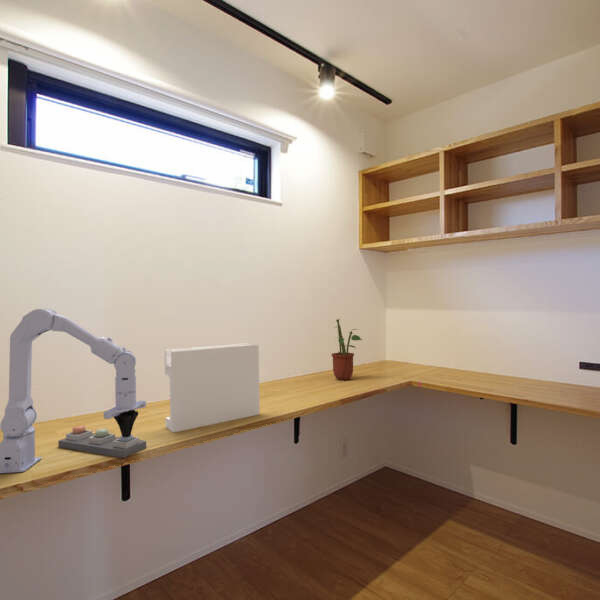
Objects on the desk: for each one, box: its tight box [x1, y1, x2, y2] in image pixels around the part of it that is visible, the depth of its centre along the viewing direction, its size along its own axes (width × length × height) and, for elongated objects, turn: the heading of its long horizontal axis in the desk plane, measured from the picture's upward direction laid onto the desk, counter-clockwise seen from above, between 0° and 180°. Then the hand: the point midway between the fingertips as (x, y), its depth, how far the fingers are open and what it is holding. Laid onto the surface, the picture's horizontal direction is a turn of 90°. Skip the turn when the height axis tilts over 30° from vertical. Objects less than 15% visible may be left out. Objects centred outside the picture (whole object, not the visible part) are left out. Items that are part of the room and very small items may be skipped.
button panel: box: [57, 429, 147, 459], centre depth 124 cm, size 27×9×4 cm, turn 68°
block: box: [164, 343, 261, 433], centre depth 151 cm, size 35×8×28 cm, turn 127°
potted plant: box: [331, 318, 363, 381], centre depth 232 cm, size 17×16×35 cm
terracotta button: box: [72, 425, 86, 434], centre depth 127 cm, size 4×4×2 cm
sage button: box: [94, 427, 109, 437], centre depth 124 cm, size 4×4×2 cm
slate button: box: [119, 434, 134, 442], centre depth 120 cm, size 4×4×2 cm
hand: (126, 436), depth 120 cm, fingers closed, pressing on slate button
